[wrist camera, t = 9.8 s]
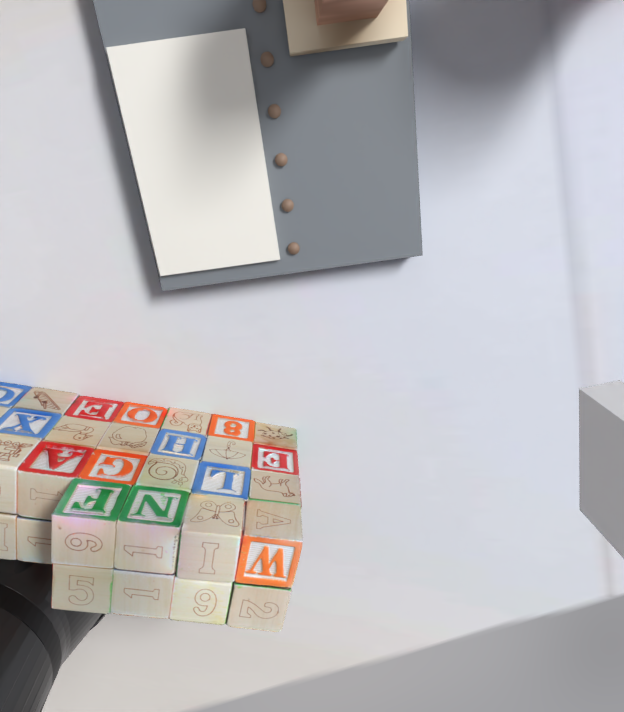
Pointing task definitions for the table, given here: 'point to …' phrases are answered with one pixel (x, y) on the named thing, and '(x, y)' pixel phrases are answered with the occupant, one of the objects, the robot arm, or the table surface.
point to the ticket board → (261, 141)
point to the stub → (343, 24)
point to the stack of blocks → (150, 507)
